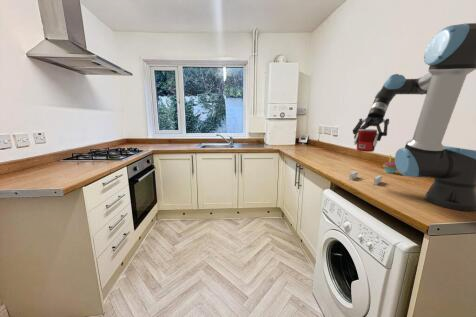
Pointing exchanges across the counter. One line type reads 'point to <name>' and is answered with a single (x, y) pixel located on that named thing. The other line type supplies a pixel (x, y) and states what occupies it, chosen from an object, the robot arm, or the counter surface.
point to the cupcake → (390, 166)
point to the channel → (354, 174)
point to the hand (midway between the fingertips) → (364, 144)
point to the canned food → (366, 140)
